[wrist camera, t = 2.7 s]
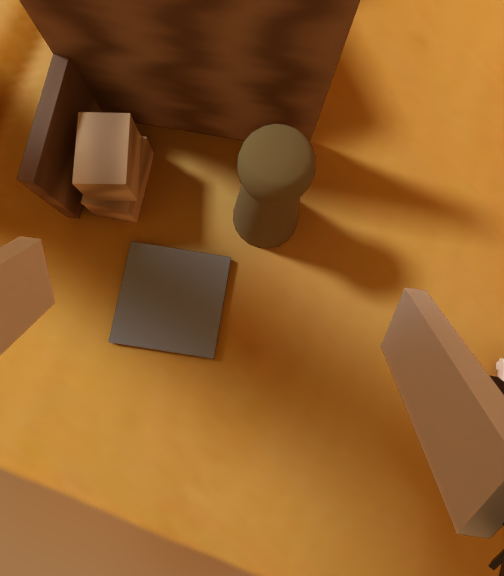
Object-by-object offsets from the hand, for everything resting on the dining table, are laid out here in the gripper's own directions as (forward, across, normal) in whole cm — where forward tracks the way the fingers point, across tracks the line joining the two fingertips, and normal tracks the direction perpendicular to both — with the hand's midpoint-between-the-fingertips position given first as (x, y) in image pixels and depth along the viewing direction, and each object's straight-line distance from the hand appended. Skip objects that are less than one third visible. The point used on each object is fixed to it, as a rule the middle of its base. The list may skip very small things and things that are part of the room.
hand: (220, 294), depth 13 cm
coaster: (+14, -6, -10) cm, 18 cm away
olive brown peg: (+20, +2, -4) cm, 21 cm away
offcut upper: (+19, -12, 0) cm, 22 cm away
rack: (+22, -6, -1) cm, 23 cm away
